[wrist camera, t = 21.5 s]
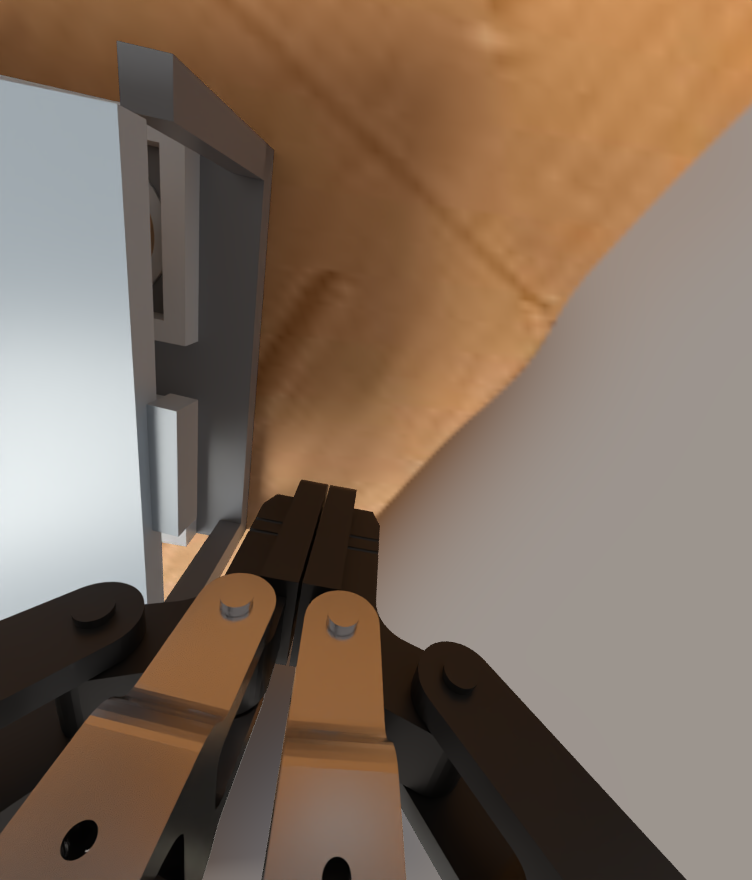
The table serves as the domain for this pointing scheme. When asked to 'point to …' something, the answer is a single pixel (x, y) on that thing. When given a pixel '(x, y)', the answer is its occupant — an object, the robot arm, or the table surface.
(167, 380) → the housing
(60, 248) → the lid
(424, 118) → the table surface
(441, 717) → the robot arm
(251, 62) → the table surface
